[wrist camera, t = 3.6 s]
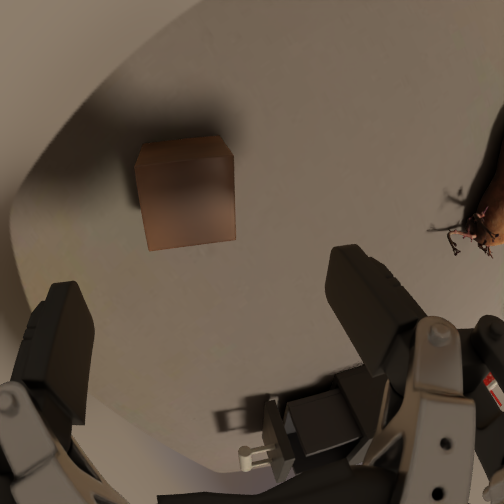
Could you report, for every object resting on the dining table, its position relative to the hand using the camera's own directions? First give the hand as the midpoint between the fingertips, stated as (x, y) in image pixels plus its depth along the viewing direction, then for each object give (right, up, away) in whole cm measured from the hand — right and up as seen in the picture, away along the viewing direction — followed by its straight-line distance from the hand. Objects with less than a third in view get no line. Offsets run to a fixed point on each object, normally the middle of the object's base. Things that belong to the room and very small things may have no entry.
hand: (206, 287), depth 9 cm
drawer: (+7, -20, +27) cm, 35 cm away
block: (-3, +6, +8) cm, 10 cm away
